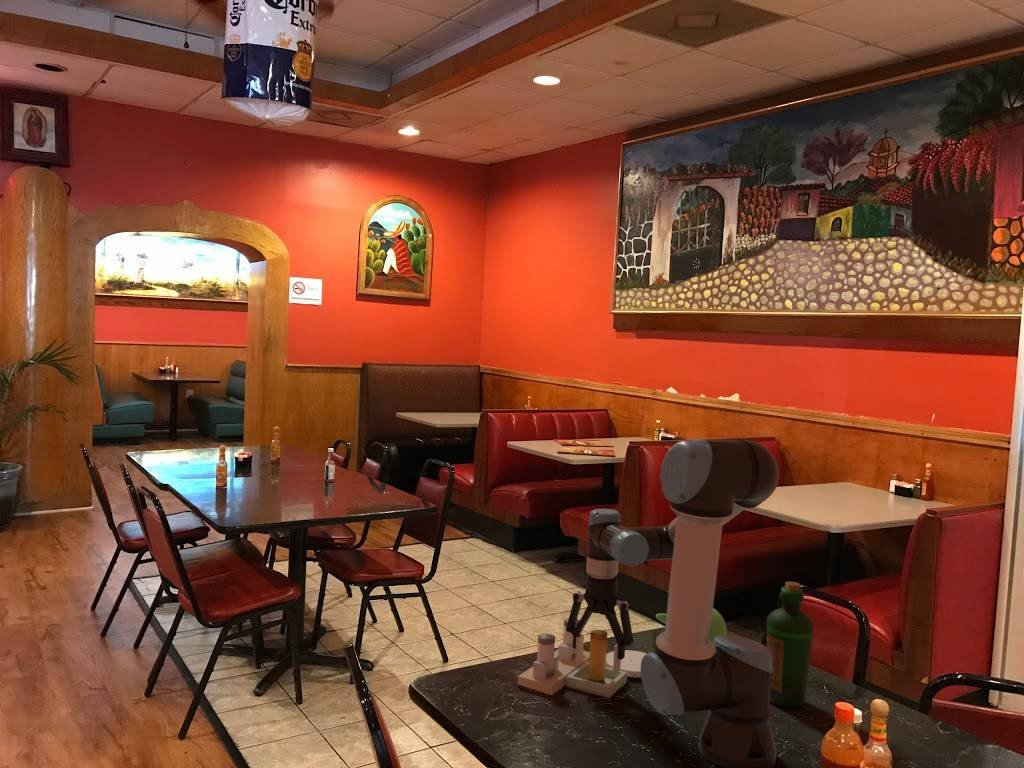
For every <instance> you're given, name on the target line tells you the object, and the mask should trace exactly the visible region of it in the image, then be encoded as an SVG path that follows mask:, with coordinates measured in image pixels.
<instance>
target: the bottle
mask: <svg viewBox="0 0 1024 768" xmlns="http://www.w3.org/2000/svg"><path fill="white" fill-rule="evenodd" d="M800 585H801V584H800V583H799V582H796V581H785V586H782V587H781V589H780V593H779V599H781V607H780V608H777V609H775V610H773V611H771V612H770V613H769V615H768V616H767V617H766V647H767V648H768V649H769V650H770V652H771V654H772V668H773V673H772V682H771V696H770V703H772V704H774V705H776V706H778V707H781V708H787V709H794V708H795V709H796V708H800V707H802V706H803V705H805V703H806V694H807V685H808V679H809V672H810V671H809V670H810V669H809V668H810V663H811V653H812V646H813V640H814V639H813V637H814V630H815V626H814V623H813V621H812V619H811V617H810V616H809V615H808V614H806V613H805V612H804V611H802V610H801V605H802V603H803V602H804V601H805V600H804V593H803V589H802V588H800Z"/></svg>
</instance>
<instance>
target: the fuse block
mask: <svg viewBox="0 0 1024 768" xmlns="http://www.w3.org/2000/svg"><path fill="white" fill-rule="evenodd" d="M568 620H569V617H566V618H564V619H563V634H562V636H563V638H562V643H560V644H559V645H558V646H557V648H558V649H556V650H555V648H556V647H555V646H556V645H555V644H556V643H555V642H556V636H555V635H553V634H552V633H540V634H538V635H537V652H536V654H537V658H536V660H534V661H533V663H532V664H533V665H532V666H531V667H530V668H528V669H527V670H525V671H523V672H522V673H521V674H519V675H518V678H517V685H518V684H519V685H522V686H525V687H528V688H531V689H535V690H538V691H541V692H544V693H547V694H550V695H552V696H553V694H554V693H555V692H556V691H558V690H559V689H560V690H561V689H563V688H564V687H566V678H567V676H568V675H569V674H571V673H572V672H573V671H575V670H576V669H577V668H578V667H580V666H581V665H582V664H584V663H585V662H588V663H589V657H590V651H585V650H583V661H582V662H581V663H579V664H575V656H576V649H574V648H573V635H572V633H570V632H567V631H566V627H567V623H568ZM579 621H580V619H578V618H577V621H576V624H575V627H576V626H577V624H578V623H579ZM563 686H564V687H563ZM562 687H563V688H562ZM560 690H559V691H560ZM559 691H558V692H559ZM556 693H557V692H556ZM556 693H555V694H556ZM547 694H546V695H547ZM555 694H554V695H555ZM550 695H549V696H550Z"/></svg>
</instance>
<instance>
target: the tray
mask: <svg viewBox="0 0 1024 768" xmlns="http://www.w3.org/2000/svg"><path fill="white" fill-rule="evenodd" d="M588 677H589V663H588V662H585V663H584V664H582V665H581V666H580V667H578V668H577V669H576V670H575V671H573V672H572V673H571V674H569V675H568V676H567V678H566V685H565V687H566V686H567V687H566V688H569V687H570V688H569V689H572V688H573V690H576V689H577V690H576V691H580V692H584V693H588V694H591V695H594V696H595V695H596V696H599V697H602V698H606V699H610V698H611V697H612V696H613V695H614V694H616V691H617V690H618V689H619V690H620V689H621V688H623V686H624V685H626V684H627V683H626V682H628V677H627V672H624V671H619V672H618V673H617V674H614V673H613V669H612V668H608V667H606V673H605V684H601V683H597V682H593V681H589V680H588ZM620 687H621V688H620ZM619 690H618V691H619ZM618 691H617V692H618Z"/></svg>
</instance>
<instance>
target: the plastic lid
mask: <svg viewBox="0 0 1024 768" xmlns="http://www.w3.org/2000/svg"><path fill="white" fill-rule="evenodd" d="M645 654H647V653H646V652H644V651H638V650H631V649H630V650H628V649H625V657H624V658H623V659H622V660H621V667H620V671H624V672H627V678H636V679H637V678H639V679H641V661H642V658H643V657H644V655H645ZM613 664H614V650H613V651H609V652H608V653H606V667H608V668H612V669H613Z"/></svg>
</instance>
